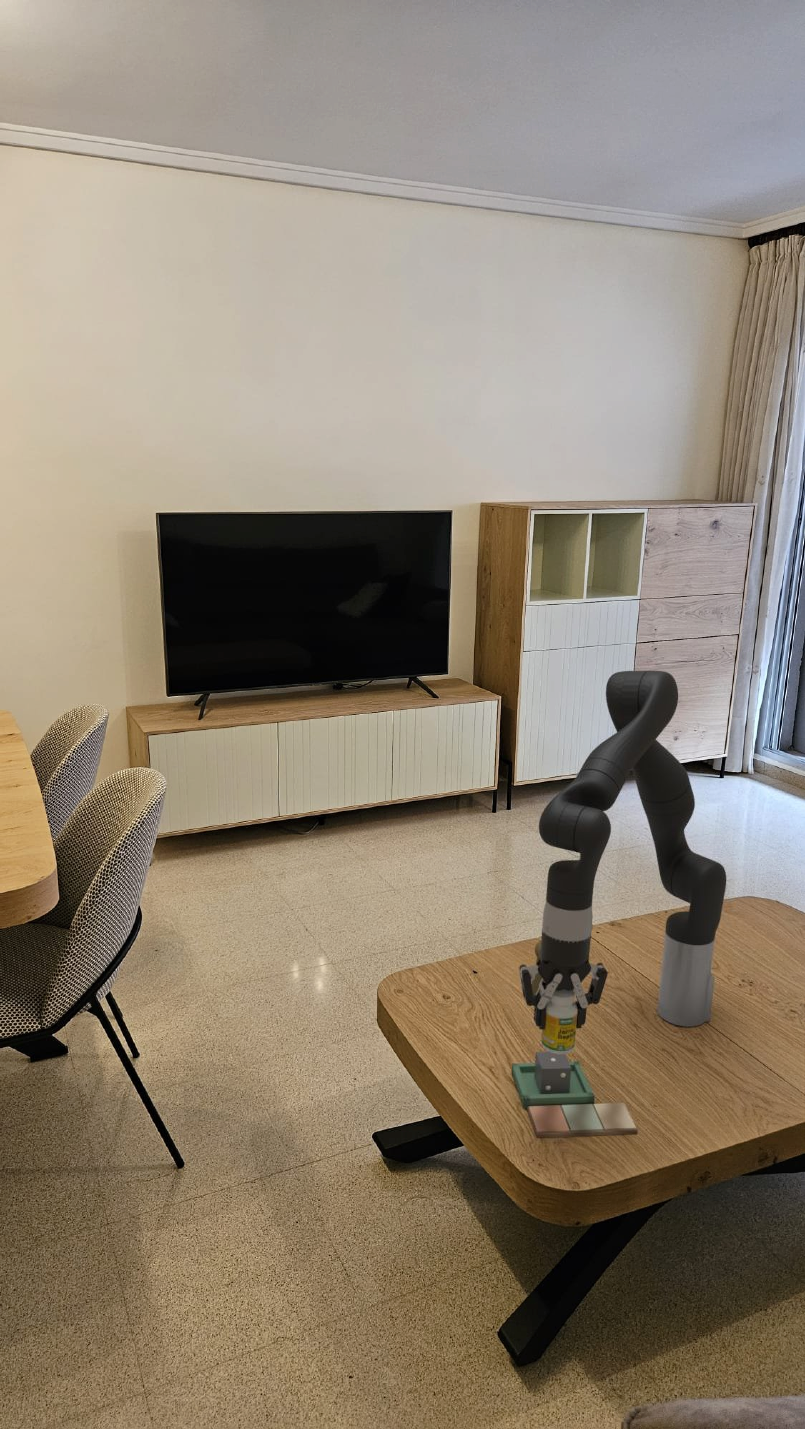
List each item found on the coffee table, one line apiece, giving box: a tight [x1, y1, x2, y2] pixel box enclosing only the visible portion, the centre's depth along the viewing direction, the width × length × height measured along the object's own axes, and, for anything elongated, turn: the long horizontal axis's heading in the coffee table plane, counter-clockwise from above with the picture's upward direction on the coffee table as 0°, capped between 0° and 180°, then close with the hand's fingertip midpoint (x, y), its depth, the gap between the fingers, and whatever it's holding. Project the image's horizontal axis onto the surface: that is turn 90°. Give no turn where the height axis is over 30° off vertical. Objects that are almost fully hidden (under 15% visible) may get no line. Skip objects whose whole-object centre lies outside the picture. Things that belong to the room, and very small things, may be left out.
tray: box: [511, 1060, 596, 1109], centre depth 169 cm, size 12×10×2 cm
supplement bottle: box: [540, 990, 578, 1055], centre depth 156 cm, size 5×5×10 cm
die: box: [534, 1051, 571, 1094], centre depth 169 cm, size 5×5×5 cm
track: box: [526, 1102, 639, 1139], centre depth 161 cm, size 16×7×1 cm, turn 95°
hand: (558, 1025), depth 156 cm, fingers closed on supplement bottle, 5 cm apart
